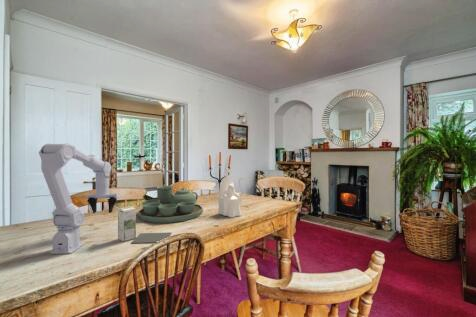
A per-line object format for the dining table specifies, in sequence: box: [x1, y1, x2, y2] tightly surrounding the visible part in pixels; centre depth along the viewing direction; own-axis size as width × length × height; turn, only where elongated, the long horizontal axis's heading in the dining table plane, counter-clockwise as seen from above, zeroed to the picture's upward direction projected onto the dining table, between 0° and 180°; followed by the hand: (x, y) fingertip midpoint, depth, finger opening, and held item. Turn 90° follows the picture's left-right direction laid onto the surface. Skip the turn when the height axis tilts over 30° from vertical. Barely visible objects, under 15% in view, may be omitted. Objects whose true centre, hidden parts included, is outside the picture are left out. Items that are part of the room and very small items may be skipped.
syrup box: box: [117, 206, 137, 242], centre depth 108 cm, size 6×6×14 cm
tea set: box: [137, 185, 204, 224], centre depth 150 cm, size 40×40×16 cm
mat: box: [130, 232, 172, 245], centre depth 109 cm, size 12×15×1 cm
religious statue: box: [217, 167, 251, 218], centre depth 150 cm, size 17×14×30 cm
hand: (102, 212), depth 116 cm, fingers open, 7 cm apart
